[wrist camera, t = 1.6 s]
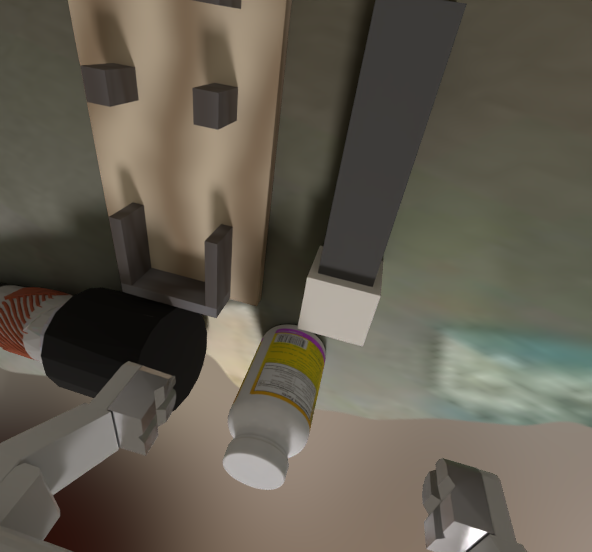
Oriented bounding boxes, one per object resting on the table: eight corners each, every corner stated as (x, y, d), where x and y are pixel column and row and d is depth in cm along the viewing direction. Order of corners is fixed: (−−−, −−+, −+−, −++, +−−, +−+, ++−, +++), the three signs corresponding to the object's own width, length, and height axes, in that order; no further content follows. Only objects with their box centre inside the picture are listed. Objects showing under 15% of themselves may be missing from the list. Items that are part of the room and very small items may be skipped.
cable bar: (466, 11, 19) (484, 4, 15) (367, 308, 31) (362, 346, 27) (370, -4, 20) (363, -14, 16) (310, 293, 32) (297, 328, 28)
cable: (-12, 253, 46) (-122, 255, 37) (211, 298, 36) (138, 317, 27) (-13, 327, 48) (-119, 347, 38) (202, 391, 37) (130, 440, 28)
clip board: (298, -64, 19) (276, -87, 15) (261, 298, 33) (245, 327, 30) (65, -96, 20) (-2, -123, 17) (126, 262, 35) (96, 286, 31)
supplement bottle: (289, 376, 38) (248, 501, 28) (250, 334, 36) (190, 452, 26) (340, 358, 35) (316, 493, 25) (301, 311, 33) (256, 436, 23)
